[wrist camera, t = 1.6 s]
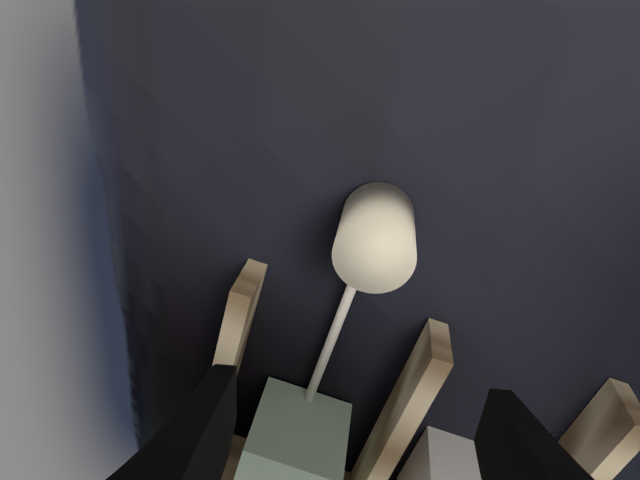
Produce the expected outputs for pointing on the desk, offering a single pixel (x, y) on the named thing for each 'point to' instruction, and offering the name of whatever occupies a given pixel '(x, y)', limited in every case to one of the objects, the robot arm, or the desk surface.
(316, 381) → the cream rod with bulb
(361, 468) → the lane rack
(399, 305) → the desk surface
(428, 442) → the grey block
